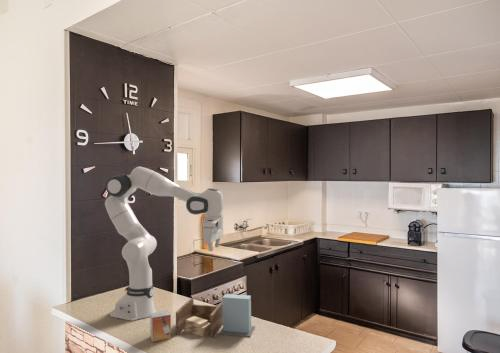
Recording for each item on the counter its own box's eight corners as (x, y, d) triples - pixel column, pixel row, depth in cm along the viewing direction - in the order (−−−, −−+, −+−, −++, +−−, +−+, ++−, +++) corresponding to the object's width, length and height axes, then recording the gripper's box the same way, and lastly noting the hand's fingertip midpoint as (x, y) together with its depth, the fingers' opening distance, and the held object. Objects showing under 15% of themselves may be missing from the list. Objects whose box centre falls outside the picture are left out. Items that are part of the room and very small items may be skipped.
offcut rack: (176, 334, 161) (175, 312, 160) (191, 318, 178) (191, 298, 178) (213, 338, 157) (212, 315, 157) (225, 321, 174) (224, 300, 174)
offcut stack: (183, 332, 164) (183, 320, 164) (192, 326, 169) (192, 315, 169) (203, 337, 158) (203, 325, 158) (211, 331, 164) (211, 319, 164)
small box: (152, 342, 154) (151, 317, 154) (150, 337, 159) (149, 313, 159) (171, 338, 157) (170, 314, 157) (168, 333, 162) (168, 310, 162)
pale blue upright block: (222, 330, 163) (222, 297, 163) (225, 326, 167) (225, 293, 167) (249, 332, 160) (248, 299, 160) (251, 328, 165) (250, 295, 164)
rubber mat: (219, 334, 160) (219, 333, 160) (225, 324, 170) (225, 323, 170) (250, 337, 157) (250, 335, 157) (254, 327, 167) (254, 326, 167)
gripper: (214, 218, 192) (214, 244, 193) (200, 223, 172) (200, 252, 173) (226, 218, 191) (226, 245, 191) (213, 224, 171) (213, 253, 171)
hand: (213, 248), depth 182 cm, fingers open, 8 cm apart
